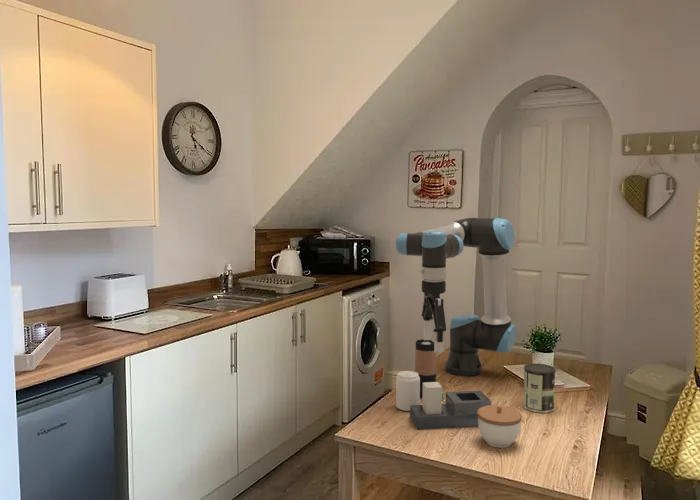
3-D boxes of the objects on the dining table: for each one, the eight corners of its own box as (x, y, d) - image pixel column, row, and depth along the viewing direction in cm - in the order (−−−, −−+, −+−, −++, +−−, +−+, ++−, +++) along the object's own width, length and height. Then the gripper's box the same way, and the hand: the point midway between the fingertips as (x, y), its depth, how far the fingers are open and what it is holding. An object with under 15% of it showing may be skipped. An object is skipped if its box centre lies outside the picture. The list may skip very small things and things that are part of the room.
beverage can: (421, 404, 194) (421, 371, 193) (417, 413, 186) (418, 378, 185) (398, 402, 196) (398, 369, 195) (394, 410, 189) (394, 376, 187)
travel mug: (413, 397, 200) (414, 344, 198) (416, 390, 208) (416, 338, 206) (434, 399, 199) (435, 345, 197) (436, 392, 206) (437, 339, 204)
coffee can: (551, 402, 196) (553, 364, 194) (556, 414, 186) (557, 373, 184) (521, 400, 198) (522, 362, 196) (524, 411, 188) (525, 371, 186)
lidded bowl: (468, 442, 165) (469, 406, 164) (491, 429, 173) (492, 395, 172) (506, 456, 156) (507, 418, 155) (528, 442, 164) (529, 406, 163)
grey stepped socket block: (410, 416, 183) (410, 393, 183) (480, 413, 186) (480, 390, 185) (417, 429, 173) (417, 405, 173) (490, 425, 176) (491, 401, 175)
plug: (422, 415, 181) (422, 382, 180) (440, 414, 182) (440, 381, 181) (426, 421, 176) (426, 387, 175) (444, 420, 177) (445, 387, 176)
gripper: (413, 274, 186) (412, 335, 189) (432, 287, 162) (431, 357, 164) (434, 273, 187) (434, 334, 189) (457, 286, 163) (456, 356, 165)
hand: (433, 345), depth 177 cm, fingers open, 13 cm apart
